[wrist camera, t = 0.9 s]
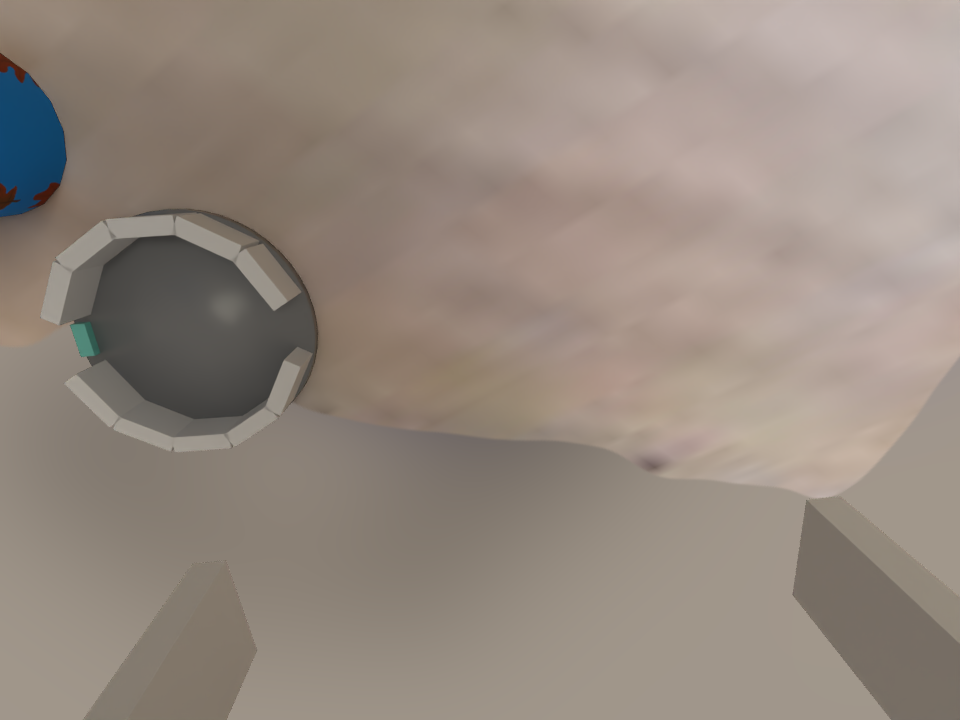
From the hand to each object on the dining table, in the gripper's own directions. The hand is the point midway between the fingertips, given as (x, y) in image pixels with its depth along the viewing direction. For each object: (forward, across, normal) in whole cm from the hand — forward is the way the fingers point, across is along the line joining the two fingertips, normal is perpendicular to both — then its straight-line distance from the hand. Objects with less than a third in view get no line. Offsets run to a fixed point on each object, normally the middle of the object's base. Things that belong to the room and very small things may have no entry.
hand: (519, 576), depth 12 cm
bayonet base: (+28, -21, 0) cm, 35 cm away
